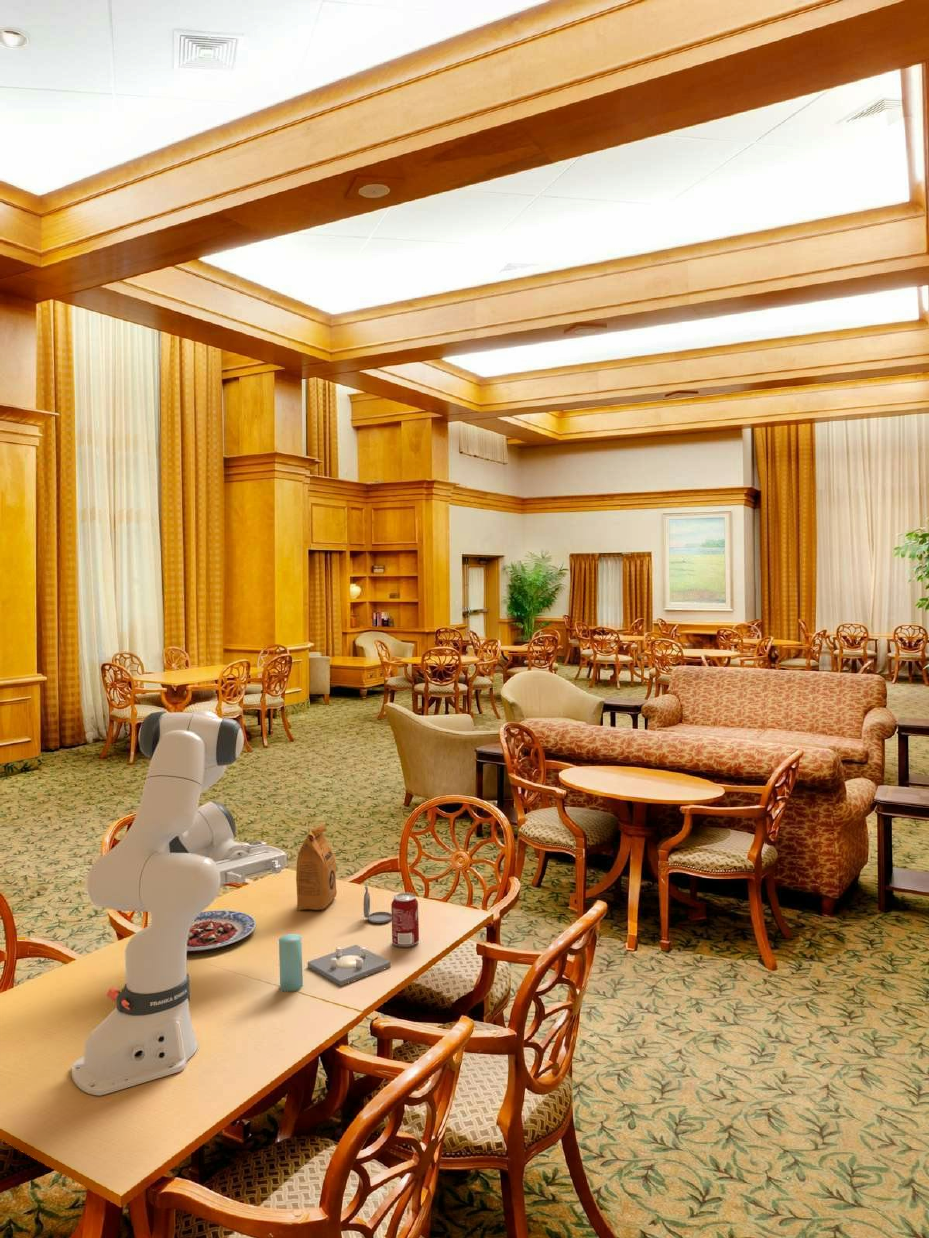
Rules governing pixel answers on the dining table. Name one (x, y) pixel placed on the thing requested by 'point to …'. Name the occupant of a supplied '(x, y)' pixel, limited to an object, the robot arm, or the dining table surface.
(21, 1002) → the dining table surface
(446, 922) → the dining table surface
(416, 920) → the soda can
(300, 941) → the teal post
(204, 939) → the ceramic plate
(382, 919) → the pocket watch
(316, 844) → the coffee package
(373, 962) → the dowel seat
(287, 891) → the dining table surface
